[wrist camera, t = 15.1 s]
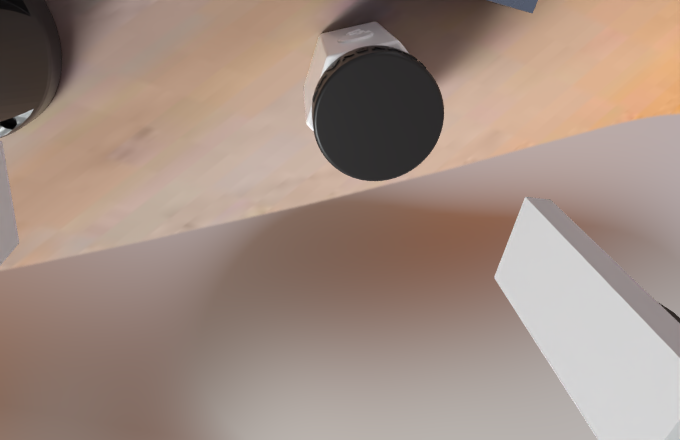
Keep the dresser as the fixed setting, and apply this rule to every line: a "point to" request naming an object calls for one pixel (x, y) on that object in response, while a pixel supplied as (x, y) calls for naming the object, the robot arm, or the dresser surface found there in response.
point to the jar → (371, 103)
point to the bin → (518, 4)
